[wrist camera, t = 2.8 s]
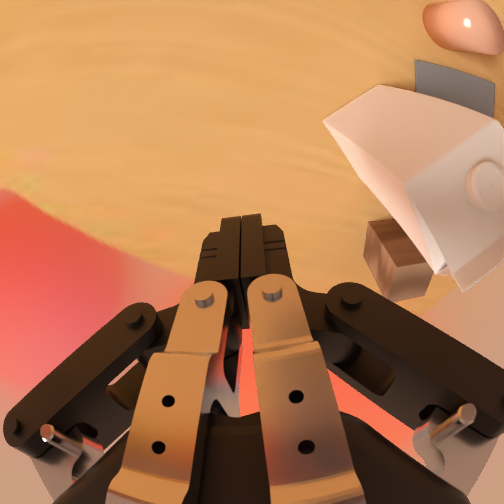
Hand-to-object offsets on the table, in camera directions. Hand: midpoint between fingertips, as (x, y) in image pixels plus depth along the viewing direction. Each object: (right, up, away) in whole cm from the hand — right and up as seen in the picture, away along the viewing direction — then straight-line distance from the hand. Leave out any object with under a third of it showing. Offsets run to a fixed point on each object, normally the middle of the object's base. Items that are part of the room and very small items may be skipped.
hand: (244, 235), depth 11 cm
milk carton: (+12, +11, +12) cm, 20 cm away
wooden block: (+16, +1, +19) cm, 25 cm away
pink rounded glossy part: (+20, +22, +3) cm, 30 cm away
